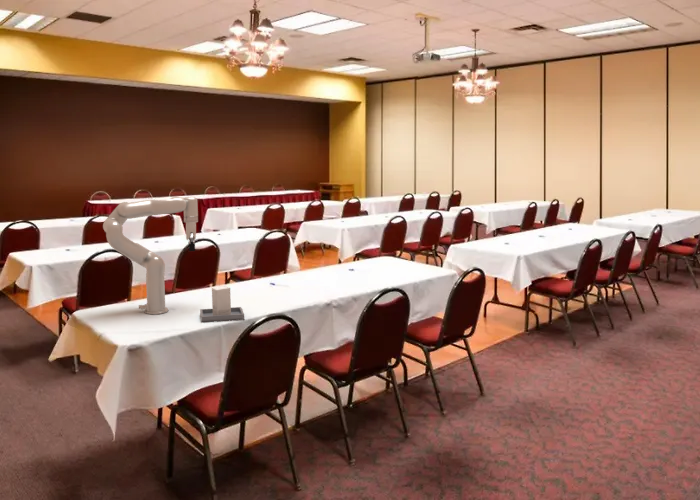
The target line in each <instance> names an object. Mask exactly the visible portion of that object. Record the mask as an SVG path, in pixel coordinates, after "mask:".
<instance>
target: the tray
mask: <svg viewBox="0 0 700 500" xmlns="http://www.w3.org/2000/svg"><path fill="white" fill-rule="evenodd" d="M199 312H200V313H199V314H200V321H201V323H211V322H213V323H214V321H217V322H230V321H232V320H233V321H244V320H245V313H244V311H243V309H242V307H241V306H236V307H235V306H234V307H231V315H216V316H213V308H200V309H199ZM229 320H230V321H229Z"/></svg>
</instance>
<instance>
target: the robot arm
mask: <svg viewBox="0 0 700 500" xmlns="http://www.w3.org/2000/svg"><path fill="white" fill-rule="evenodd" d="M198 210H199V209H198V198H197V197H195V196H186V197H179V196H173V197H171V198H169V199H160V200H158V199H146V200H145V199H144V200H139V201H131V202H129V201H128V202H127V201H123V202H120V203H118V205H117V206H116V207H115V208H114V209H113V210H112V212H110V214H109V215H108V217H107V218H106V219H105V220H104V222H103V224H102V229H103V230H104V233H105V237H106V241H107V243H108V244H109V246H110V247H111V248H112V249H113V250H115V251H116V252H118V253H120V254H121V255H122V256H125V257H126V258H128V259H129V260H130V261H132V262H133V263H134V262H135V263H136V264H138V265H140V266H141V267H143V268H145V269H146V274H145V275H146V277H145V282H146V283H145V286H146V304H139V305H138V310H144V313H145V314H147V315H162V314H166V313H168V312H169V308H168V307H167V306H166V291H165V288H166V287H165V285H166V283H165V272H166V271H165V270H166V264H165V261H164V259H163V257H161V256H159V254H157V253H155V252H153V251H151V250H149V249H148V248H146V247H144V246H143V245H142V244H139V243H138V242H134V241H133V240H131V239H130V238H127V237H126V236H125V235H124V233H123V225H124V224H125V223H126V221H127V220H128V219H129V220H130V219H138V218H143V217H151V216H161V215H169V214H175V213H176V214H177V213H182V212H183V223H185V239H186V241H188V251H189V252H196V244H195V240H196V237H197V223H198V222H199V211H198Z"/></svg>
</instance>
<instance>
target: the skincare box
mask: <svg viewBox="0 0 700 500" xmlns="http://www.w3.org/2000/svg"><path fill="white" fill-rule="evenodd" d="M211 302H212V308H211V309H213V316H216V315H231V308H232V307H231V306H232V305H231V287H229V286H227V285H221V286H216V287H215V286H214V287H211Z"/></svg>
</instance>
